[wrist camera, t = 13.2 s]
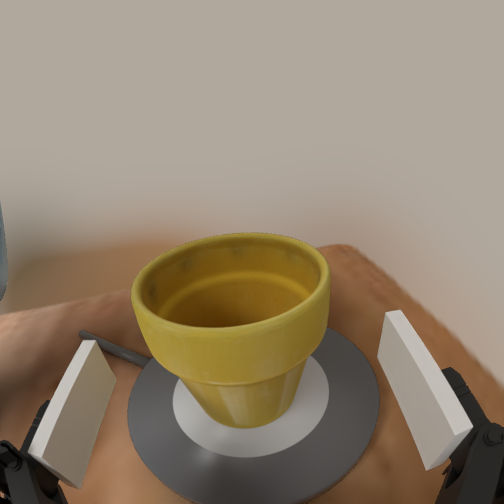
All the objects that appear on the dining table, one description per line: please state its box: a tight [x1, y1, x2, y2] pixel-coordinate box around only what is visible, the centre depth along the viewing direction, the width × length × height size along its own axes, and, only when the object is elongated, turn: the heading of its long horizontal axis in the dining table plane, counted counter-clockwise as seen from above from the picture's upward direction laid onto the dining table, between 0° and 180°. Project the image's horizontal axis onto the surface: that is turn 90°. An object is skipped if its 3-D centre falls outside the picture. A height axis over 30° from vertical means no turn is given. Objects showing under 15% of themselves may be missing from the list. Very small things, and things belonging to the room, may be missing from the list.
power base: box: [79, 327, 380, 504], centre depth 22 cm, size 30×18×2 cm, turn 66°
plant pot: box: [131, 233, 331, 429], centre depth 17 cm, size 10×10×10 cm
